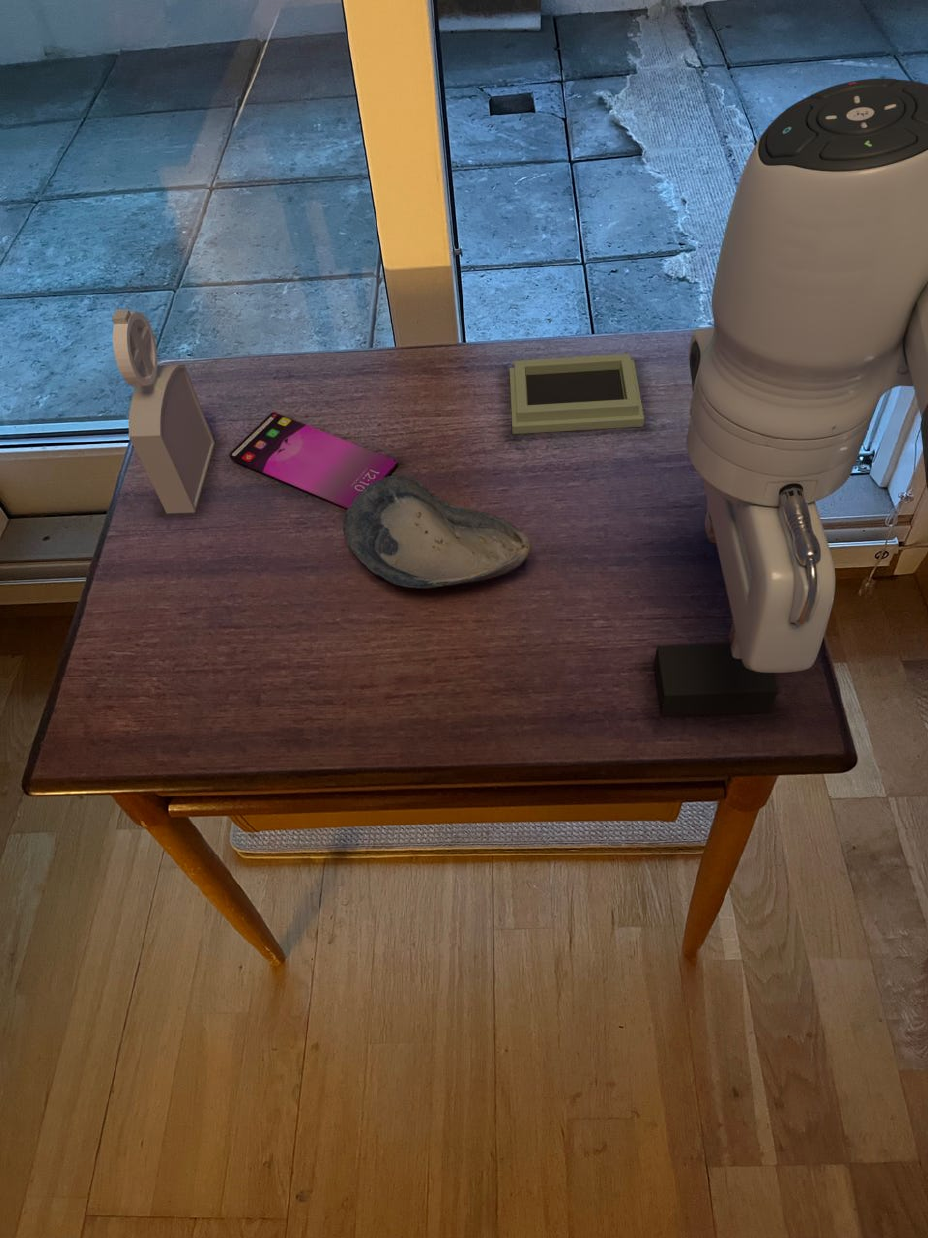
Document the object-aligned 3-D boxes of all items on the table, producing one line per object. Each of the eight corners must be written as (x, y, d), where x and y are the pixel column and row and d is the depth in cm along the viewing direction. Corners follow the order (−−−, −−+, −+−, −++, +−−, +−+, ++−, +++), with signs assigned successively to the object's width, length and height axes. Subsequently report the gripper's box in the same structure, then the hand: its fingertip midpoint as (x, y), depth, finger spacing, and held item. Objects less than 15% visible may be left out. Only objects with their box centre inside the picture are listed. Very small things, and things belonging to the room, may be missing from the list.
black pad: (759, 663, 70) (766, 640, 67) (770, 712, 67) (778, 690, 65) (653, 667, 70) (656, 645, 68) (660, 717, 68) (664, 695, 65)
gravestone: (215, 442, 90) (151, 279, 76) (195, 512, 84) (121, 350, 70) (188, 443, 90) (119, 280, 76) (166, 513, 85) (87, 351, 70)
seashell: (515, 492, 83) (513, 451, 79) (535, 600, 75) (534, 560, 71) (347, 513, 83) (337, 473, 79) (350, 623, 75) (339, 584, 71)
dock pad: (633, 367, 92) (634, 349, 90) (643, 426, 87) (645, 408, 85) (509, 375, 93) (509, 357, 91) (512, 434, 87) (511, 416, 86)
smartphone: (276, 417, 91) (273, 410, 91) (400, 463, 86) (399, 456, 85) (229, 462, 88) (227, 455, 87) (356, 514, 82) (354, 507, 82)
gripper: (891, 575, 42) (816, 727, 53) (795, 308, 54) (750, 477, 65) (751, 580, 42) (706, 730, 53) (687, 313, 54) (661, 481, 65)
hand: (730, 589), depth 59 cm, fingers open, 8 cm apart
